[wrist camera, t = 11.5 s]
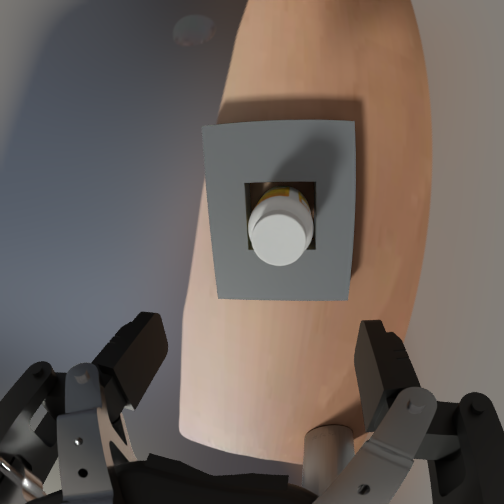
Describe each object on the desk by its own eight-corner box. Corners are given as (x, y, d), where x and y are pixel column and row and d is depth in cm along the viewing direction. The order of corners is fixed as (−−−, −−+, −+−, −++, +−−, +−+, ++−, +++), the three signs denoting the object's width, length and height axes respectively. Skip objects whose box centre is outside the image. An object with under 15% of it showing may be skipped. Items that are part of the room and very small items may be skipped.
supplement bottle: (250, 222, 30) (230, 257, 21) (270, 176, 28) (258, 191, 19) (295, 243, 30) (295, 286, 21) (318, 198, 28) (329, 224, 19)
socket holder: (343, 287, 31) (347, 300, 28) (224, 285, 33) (218, 298, 30) (348, 123, 25) (354, 121, 22) (210, 128, 27) (201, 126, 24)
